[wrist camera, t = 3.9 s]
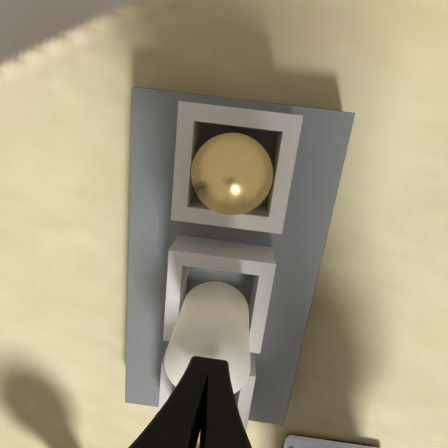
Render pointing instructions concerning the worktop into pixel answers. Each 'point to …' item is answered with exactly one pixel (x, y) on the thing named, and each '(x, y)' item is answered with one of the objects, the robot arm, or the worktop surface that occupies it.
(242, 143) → the brass knob
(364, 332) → the worktop surface
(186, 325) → the white middle knob
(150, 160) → the knob mount
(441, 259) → the worktop surface
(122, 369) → the worktop surface
